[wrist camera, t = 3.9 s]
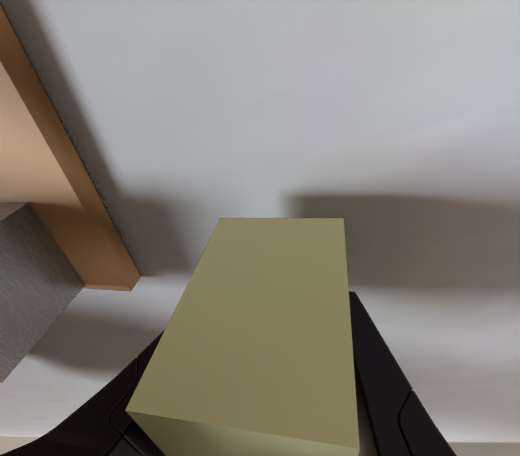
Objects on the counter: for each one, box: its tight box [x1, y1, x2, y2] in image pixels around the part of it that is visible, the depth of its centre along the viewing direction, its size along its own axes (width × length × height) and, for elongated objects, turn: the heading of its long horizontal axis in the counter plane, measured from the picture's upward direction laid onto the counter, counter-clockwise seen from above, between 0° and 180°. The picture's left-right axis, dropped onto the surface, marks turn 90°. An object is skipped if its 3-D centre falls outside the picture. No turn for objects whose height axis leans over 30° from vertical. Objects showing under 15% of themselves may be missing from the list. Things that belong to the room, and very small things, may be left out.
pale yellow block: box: [125, 218, 360, 456], centre depth 9 cm, size 5×4×6 cm
